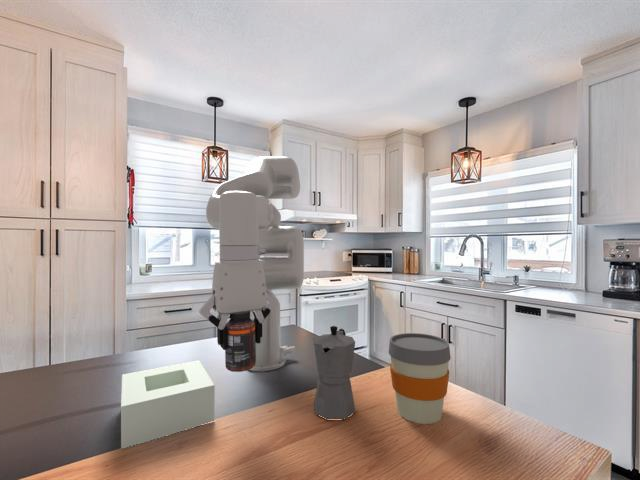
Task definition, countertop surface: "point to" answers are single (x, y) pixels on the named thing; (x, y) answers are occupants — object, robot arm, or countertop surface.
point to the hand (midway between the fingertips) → (240, 343)
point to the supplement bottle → (240, 343)
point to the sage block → (165, 401)
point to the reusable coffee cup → (419, 375)
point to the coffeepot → (334, 374)
